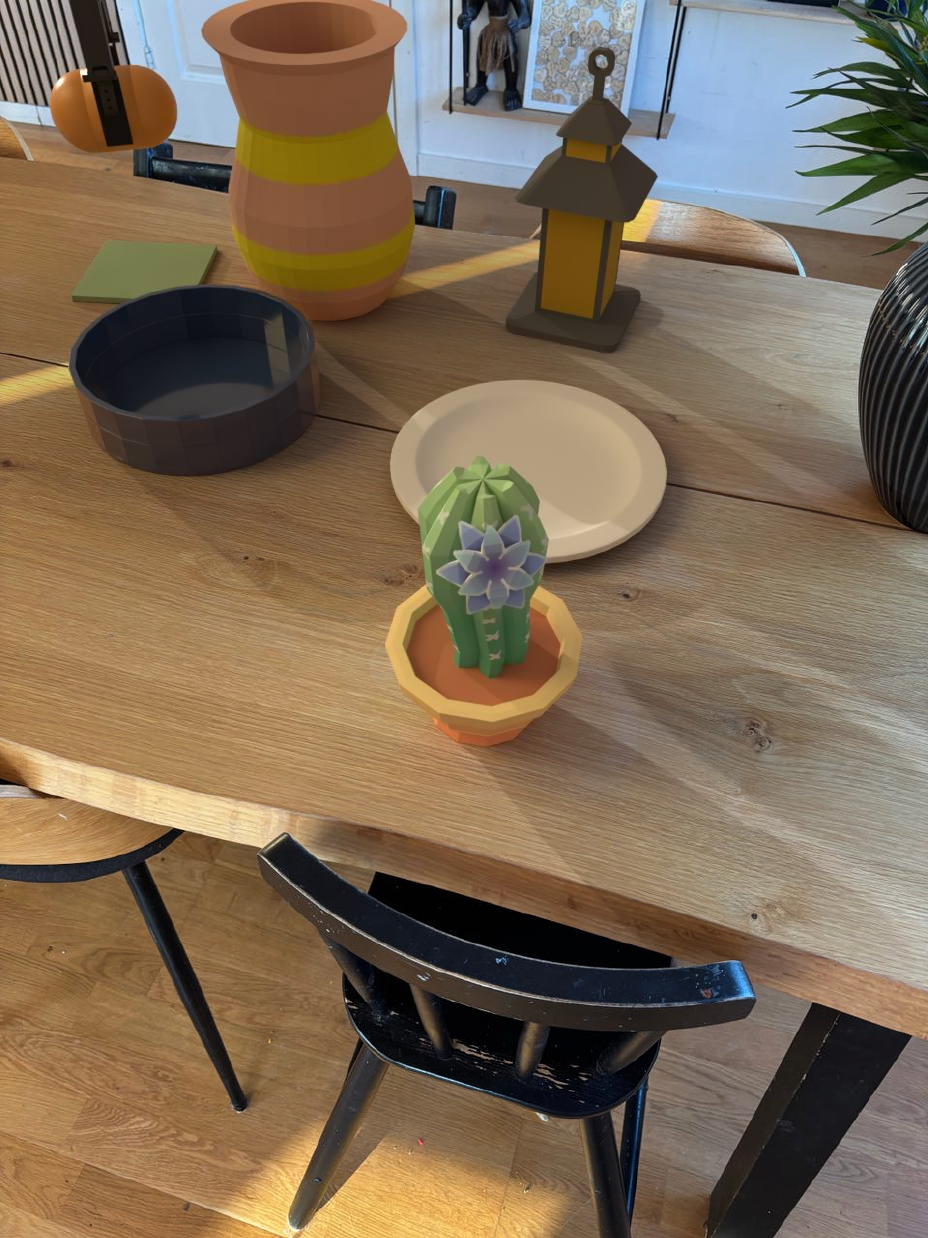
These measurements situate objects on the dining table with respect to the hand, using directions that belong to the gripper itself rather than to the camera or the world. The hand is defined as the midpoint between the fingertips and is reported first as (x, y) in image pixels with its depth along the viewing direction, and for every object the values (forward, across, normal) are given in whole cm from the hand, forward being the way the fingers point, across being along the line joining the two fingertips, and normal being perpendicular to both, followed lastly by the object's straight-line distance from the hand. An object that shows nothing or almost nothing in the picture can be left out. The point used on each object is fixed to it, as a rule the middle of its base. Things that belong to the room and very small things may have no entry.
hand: (118, 127), depth 106 cm
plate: (+21, -43, -34) cm, 59 cm away
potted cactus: (+21, -69, -22) cm, 76 cm away
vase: (+21, -1, -21) cm, 30 cm away
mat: (+21, +8, +1) cm, 23 cm away
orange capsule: (+2, 0, 0) cm, 2 cm away
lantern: (+21, -14, -49) cm, 56 cm away
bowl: (+21, -22, -4) cm, 30 cm away
